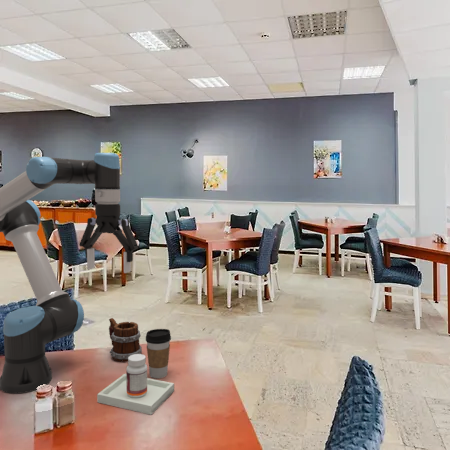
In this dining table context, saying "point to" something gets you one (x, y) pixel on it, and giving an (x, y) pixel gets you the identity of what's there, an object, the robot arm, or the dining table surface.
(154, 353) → the coffee cup
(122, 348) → the mug
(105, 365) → the dining table surface
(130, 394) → the pill bottle
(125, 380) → the tray
